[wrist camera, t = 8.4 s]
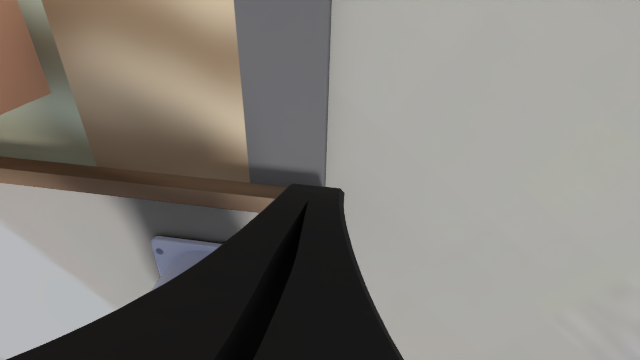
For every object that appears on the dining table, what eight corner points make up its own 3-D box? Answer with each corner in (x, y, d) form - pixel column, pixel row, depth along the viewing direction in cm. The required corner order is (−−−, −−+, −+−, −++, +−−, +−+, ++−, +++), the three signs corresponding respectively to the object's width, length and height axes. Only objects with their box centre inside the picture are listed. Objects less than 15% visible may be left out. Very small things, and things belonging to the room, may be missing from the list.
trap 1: (325, 184, 20) (323, 190, 20) (253, 177, 21) (249, 182, 20) (338, -200, 12) (336, -206, 12) (222, -198, 13) (215, -203, 12)
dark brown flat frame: (324, 199, 21) (319, 219, 19) (-93, 154, 24) (-126, 168, 23) (340, -244, 12) (332, -271, 10) (-327, -220, 15) (-406, -238, 14)
